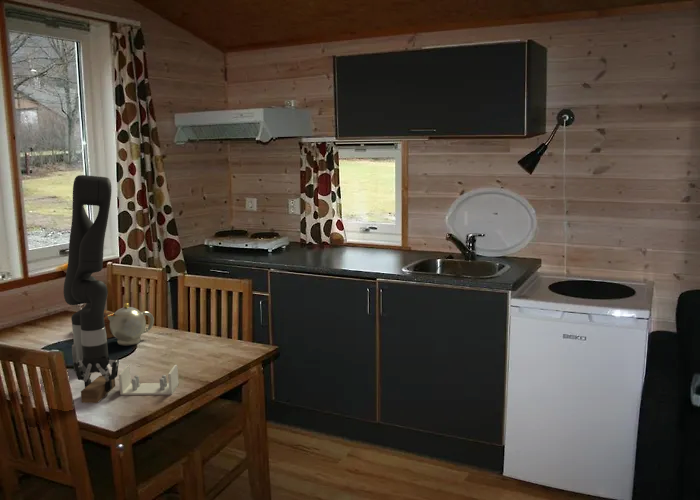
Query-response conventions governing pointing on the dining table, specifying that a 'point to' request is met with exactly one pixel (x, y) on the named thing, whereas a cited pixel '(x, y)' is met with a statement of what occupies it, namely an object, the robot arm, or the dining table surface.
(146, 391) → the shelf frame
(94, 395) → the brown rectangular block
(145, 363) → the dining table surface
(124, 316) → the teapot
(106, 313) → the bread
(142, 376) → the dining table surface
